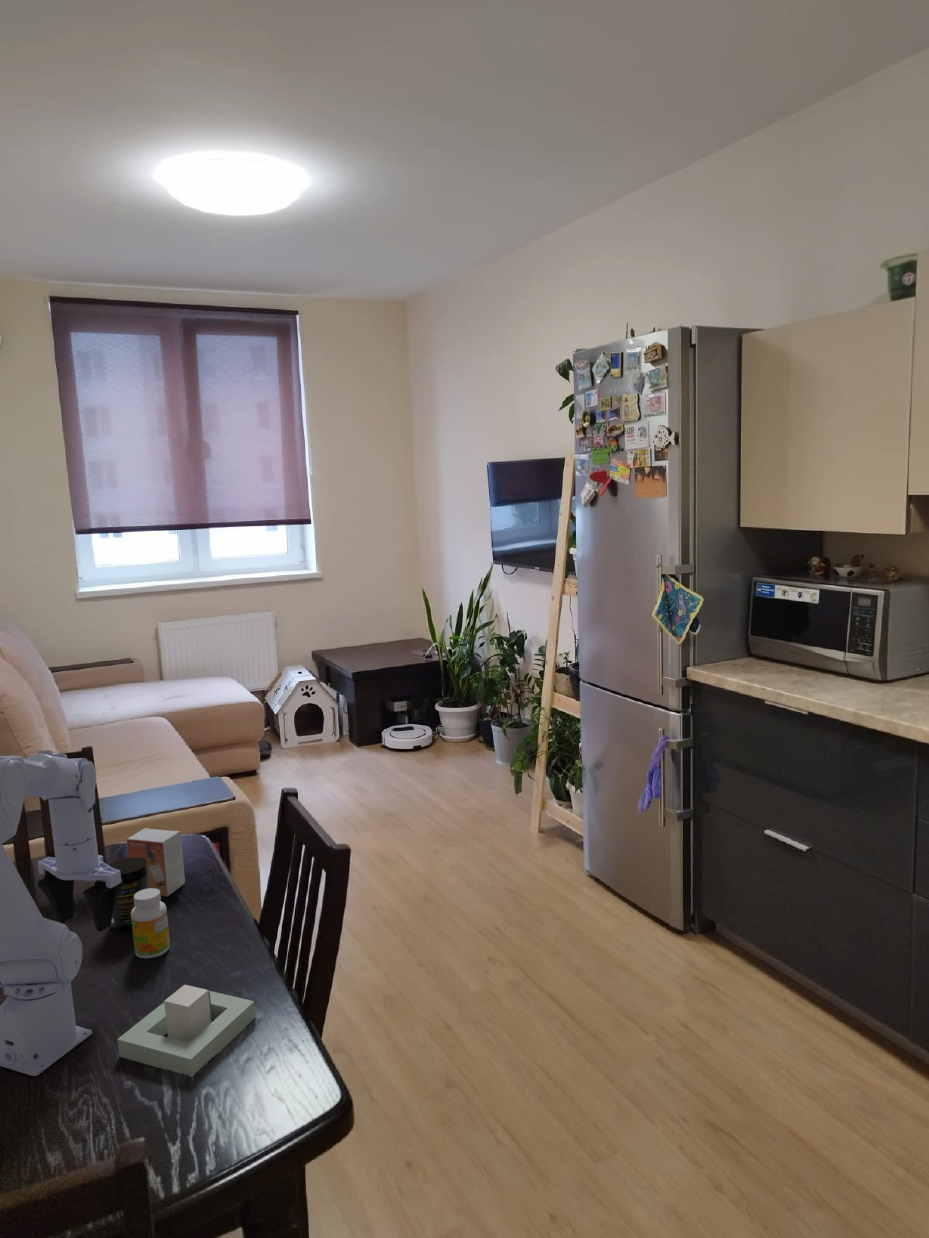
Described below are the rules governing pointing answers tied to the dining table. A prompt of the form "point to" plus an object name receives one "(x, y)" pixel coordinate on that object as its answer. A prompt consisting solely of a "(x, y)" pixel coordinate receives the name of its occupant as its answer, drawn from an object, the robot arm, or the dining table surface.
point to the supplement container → (128, 890)
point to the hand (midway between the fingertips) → (85, 923)
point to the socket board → (180, 1056)
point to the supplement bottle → (149, 924)
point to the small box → (160, 857)
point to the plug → (188, 1013)
